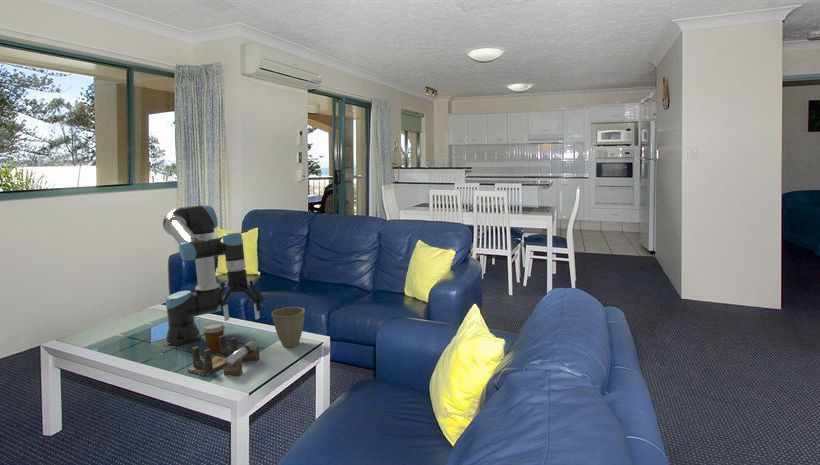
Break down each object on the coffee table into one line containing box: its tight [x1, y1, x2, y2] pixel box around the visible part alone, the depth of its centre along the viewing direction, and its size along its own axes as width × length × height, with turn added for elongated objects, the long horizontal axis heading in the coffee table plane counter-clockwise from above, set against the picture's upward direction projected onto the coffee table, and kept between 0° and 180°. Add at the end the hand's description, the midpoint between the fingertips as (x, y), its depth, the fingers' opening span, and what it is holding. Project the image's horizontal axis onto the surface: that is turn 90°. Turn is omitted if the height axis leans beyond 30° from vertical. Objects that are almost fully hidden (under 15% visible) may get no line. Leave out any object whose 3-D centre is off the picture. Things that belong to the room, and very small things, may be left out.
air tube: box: [225, 340, 258, 367], centre depth 209 cm, size 18×4×4 cm, turn 167°
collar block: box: [187, 334, 239, 376], centre depth 214 cm, size 10×21×10 cm, turn 153°
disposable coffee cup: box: [202, 321, 225, 354], centre depth 229 cm, size 10×10×12 cm
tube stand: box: [222, 347, 261, 377], centre depth 210 cm, size 17×7×5 cm, turn 167°
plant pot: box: [271, 306, 306, 348], centre depth 233 cm, size 15×15×16 cm
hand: (242, 319), depth 212 cm, fingers open, 13 cm apart
